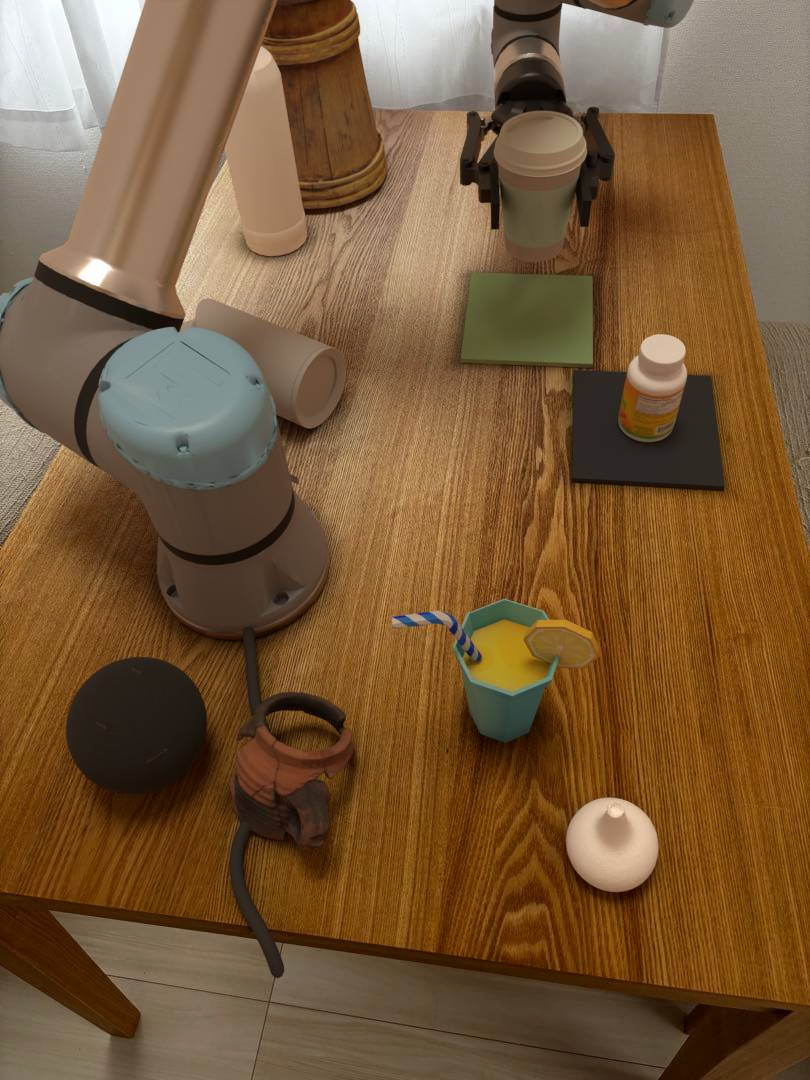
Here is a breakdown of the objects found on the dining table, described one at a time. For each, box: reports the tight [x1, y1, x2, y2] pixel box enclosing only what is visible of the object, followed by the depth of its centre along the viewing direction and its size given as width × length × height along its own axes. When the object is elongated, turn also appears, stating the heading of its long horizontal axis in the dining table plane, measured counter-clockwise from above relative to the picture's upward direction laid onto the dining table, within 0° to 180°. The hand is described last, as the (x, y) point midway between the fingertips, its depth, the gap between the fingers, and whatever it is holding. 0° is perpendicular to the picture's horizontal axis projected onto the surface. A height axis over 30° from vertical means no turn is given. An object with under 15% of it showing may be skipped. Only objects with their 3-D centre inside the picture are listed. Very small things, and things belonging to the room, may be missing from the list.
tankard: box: [261, 0, 388, 210], centre depth 109 cm, size 18×24×25 cm
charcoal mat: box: [571, 369, 726, 491], centre depth 86 cm, size 15×14×1 cm
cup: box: [391, 598, 601, 744], centre depth 63 cm, size 14×8×15 cm, turn 90°
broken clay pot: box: [229, 691, 358, 852], centre depth 64 cm, size 12×10×8 cm
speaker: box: [65, 656, 208, 795], centre depth 64 cm, size 10×10×10 cm
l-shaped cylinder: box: [179, 298, 347, 429], centre depth 88 cm, size 18×11×20 cm
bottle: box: [224, 46, 308, 257], centre depth 97 cm, size 8×8×30 cm
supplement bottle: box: [618, 333, 688, 442], centre depth 82 cm, size 5×5×10 cm
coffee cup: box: [494, 111, 587, 263], centre depth 84 cm, size 8×8×12 cm
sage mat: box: [460, 271, 594, 369], centre depth 97 cm, size 15×14×1 cm
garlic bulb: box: [565, 797, 659, 893], centre depth 59 cm, size 6×6×8 cm
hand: (540, 215), depth 80 cm, fingers closed on coffee cup, 8 cm apart
